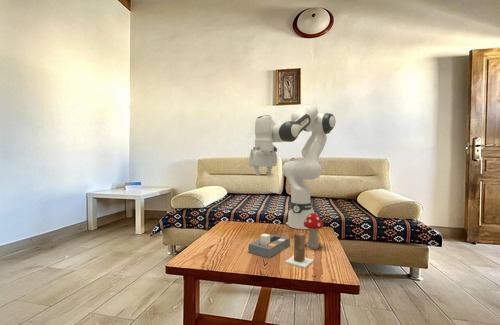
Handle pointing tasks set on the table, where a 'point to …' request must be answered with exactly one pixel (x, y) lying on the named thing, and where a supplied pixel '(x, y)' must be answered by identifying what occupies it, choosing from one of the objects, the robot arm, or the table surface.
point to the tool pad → (299, 264)
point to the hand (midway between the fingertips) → (263, 175)
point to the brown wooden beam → (299, 247)
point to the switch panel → (269, 246)
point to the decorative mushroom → (313, 230)
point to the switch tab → (264, 239)
